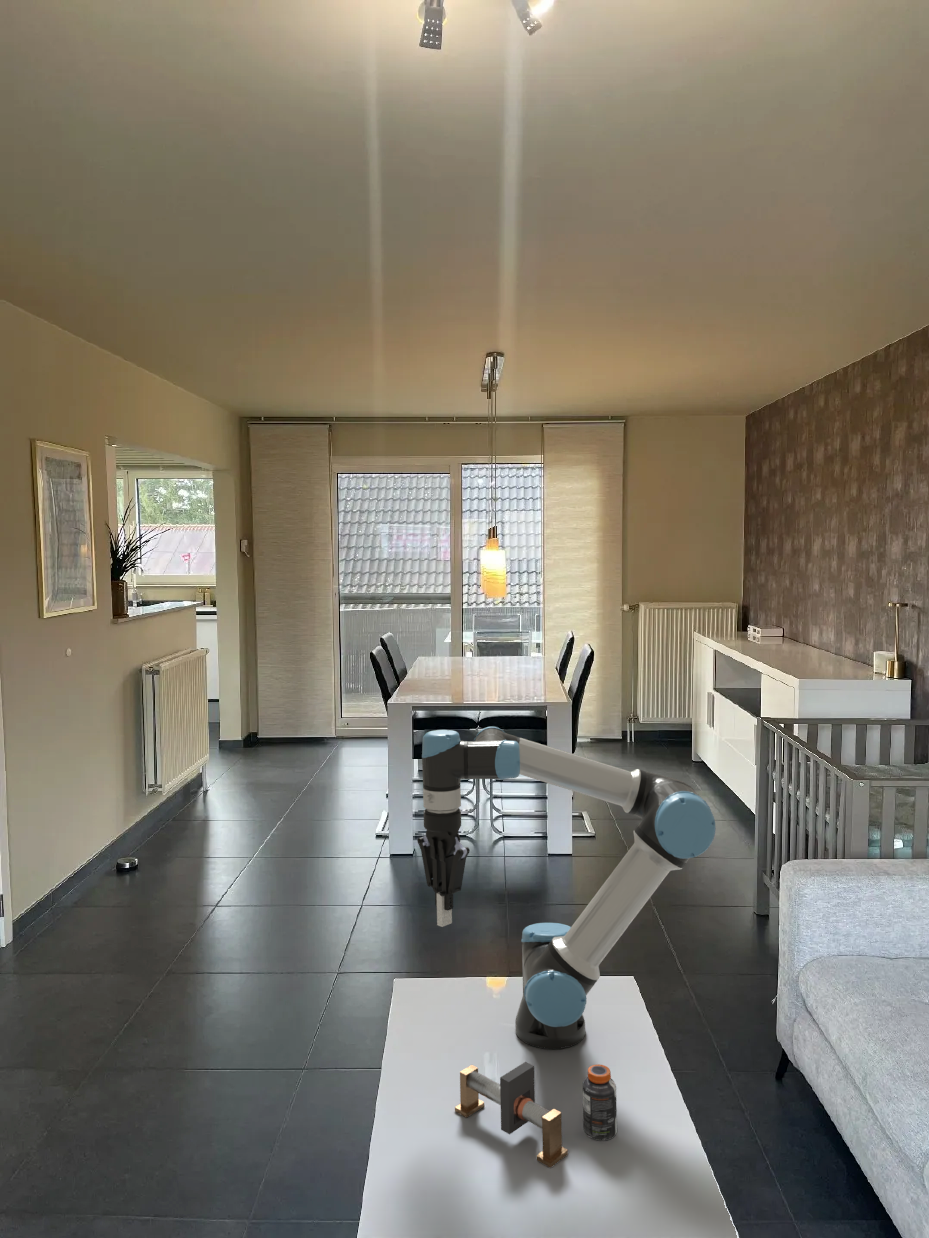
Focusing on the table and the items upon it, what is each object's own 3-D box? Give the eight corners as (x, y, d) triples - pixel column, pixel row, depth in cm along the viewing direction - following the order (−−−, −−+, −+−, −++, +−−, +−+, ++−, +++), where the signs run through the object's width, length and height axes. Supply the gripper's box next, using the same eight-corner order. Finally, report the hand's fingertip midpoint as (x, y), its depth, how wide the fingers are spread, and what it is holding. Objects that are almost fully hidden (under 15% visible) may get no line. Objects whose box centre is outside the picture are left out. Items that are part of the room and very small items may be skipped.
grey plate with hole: (501, 1129, 154) (500, 1077, 153) (526, 1111, 158) (525, 1061, 158) (509, 1134, 152) (508, 1081, 152) (535, 1116, 157) (534, 1065, 157)
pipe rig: (454, 1110, 163) (454, 1070, 163) (472, 1099, 167) (472, 1060, 166) (550, 1167, 147) (549, 1123, 147) (568, 1154, 151) (567, 1110, 150)
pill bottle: (621, 1126, 158) (621, 1065, 157) (609, 1145, 153) (609, 1082, 152) (590, 1116, 161) (590, 1056, 160) (578, 1135, 156) (577, 1073, 155)
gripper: (406, 806, 178) (409, 920, 179) (451, 818, 168) (454, 938, 170) (433, 799, 183) (436, 910, 184) (478, 810, 174) (480, 927, 175)
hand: (444, 923), depth 177 cm, fingers closed
